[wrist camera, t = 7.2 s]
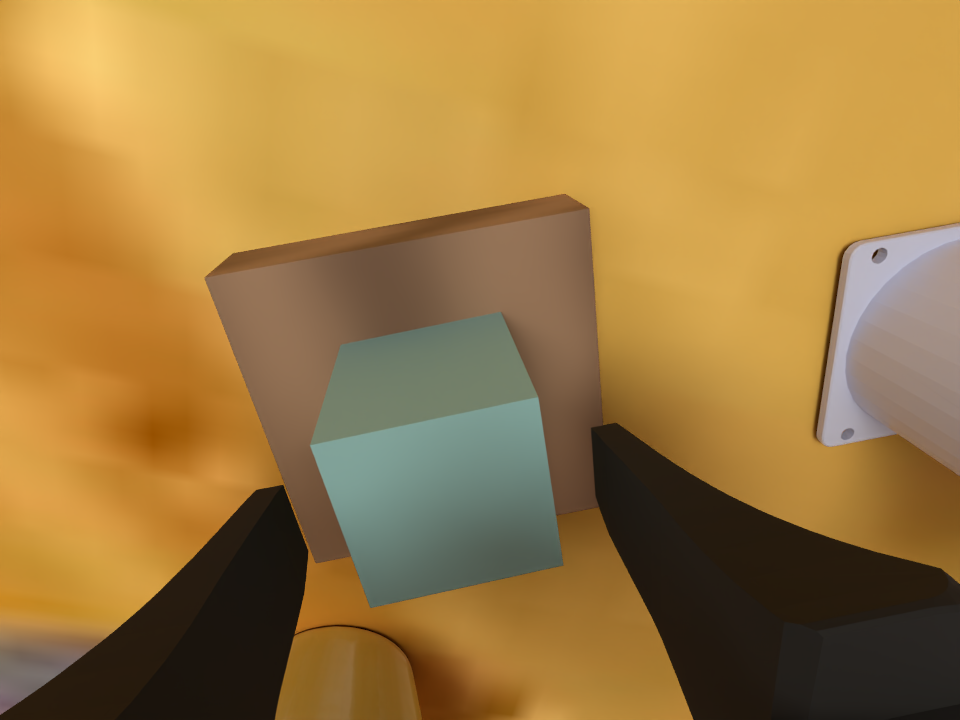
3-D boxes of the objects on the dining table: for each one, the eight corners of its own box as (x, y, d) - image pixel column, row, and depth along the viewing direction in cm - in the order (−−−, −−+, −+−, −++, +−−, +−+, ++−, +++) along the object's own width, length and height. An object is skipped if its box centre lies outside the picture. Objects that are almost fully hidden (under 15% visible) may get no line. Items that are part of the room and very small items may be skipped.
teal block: (500, 311, 15) (538, 396, 11) (523, 444, 17) (563, 565, 13) (340, 344, 15) (309, 445, 11) (381, 475, 17) (370, 607, 12)
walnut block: (560, 191, 17) (589, 208, 14) (583, 454, 21) (608, 505, 19) (238, 249, 17) (204, 277, 14) (328, 503, 21) (315, 563, 18)
